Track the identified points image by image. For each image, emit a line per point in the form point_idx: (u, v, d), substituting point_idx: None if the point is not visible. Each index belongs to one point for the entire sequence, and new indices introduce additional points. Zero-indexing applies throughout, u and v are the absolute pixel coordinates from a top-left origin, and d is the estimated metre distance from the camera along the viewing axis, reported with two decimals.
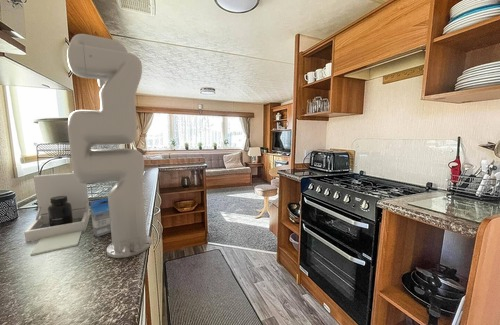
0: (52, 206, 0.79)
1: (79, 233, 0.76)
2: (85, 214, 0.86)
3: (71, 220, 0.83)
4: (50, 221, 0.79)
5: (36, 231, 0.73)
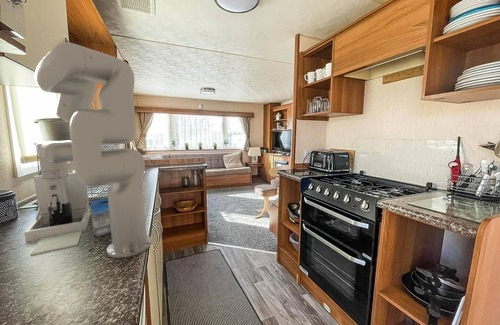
0: None
1: (79, 233, 0.76)
2: (85, 214, 0.86)
3: (71, 220, 0.83)
4: (50, 221, 0.79)
5: (36, 231, 0.73)
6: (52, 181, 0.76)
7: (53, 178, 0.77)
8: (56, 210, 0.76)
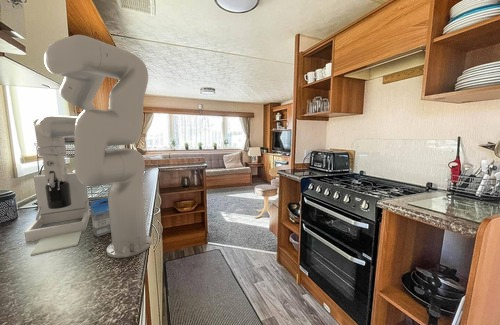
0: None
1: (79, 233, 0.76)
2: (85, 214, 0.86)
3: (69, 199, 0.82)
4: (48, 199, 0.78)
5: (36, 231, 0.73)
6: (49, 157, 0.75)
7: (50, 154, 0.76)
8: (54, 187, 0.75)
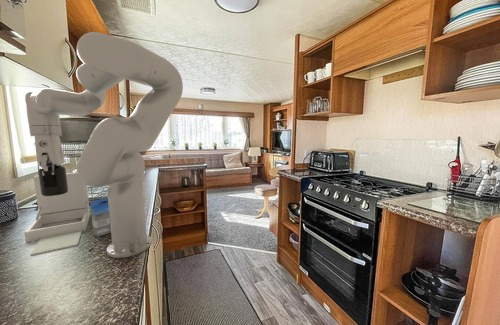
0: None
1: (79, 233, 0.76)
2: (85, 214, 0.86)
3: (66, 186, 0.73)
4: (41, 185, 0.69)
5: (36, 231, 0.73)
6: (42, 137, 0.66)
7: (43, 134, 0.66)
8: (47, 171, 0.66)
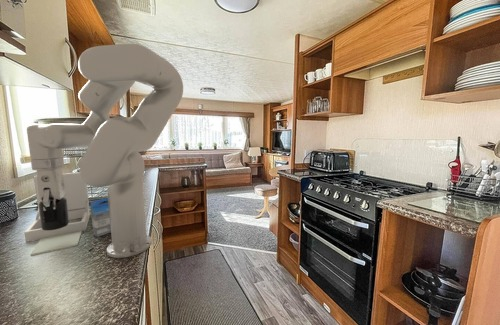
0: None
1: (79, 233, 0.76)
2: (85, 214, 0.86)
3: (66, 218, 0.71)
4: (41, 219, 0.67)
5: (36, 231, 0.73)
6: (44, 171, 0.64)
7: (45, 168, 0.64)
8: (49, 206, 0.64)
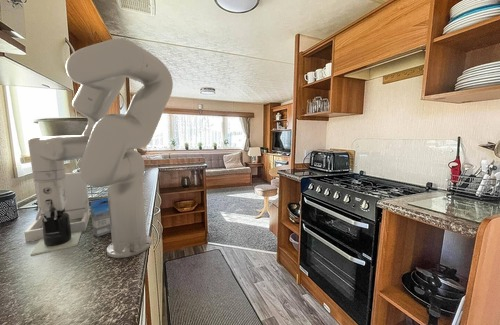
0: None
1: (79, 233, 0.76)
2: (85, 214, 0.86)
3: (69, 233, 0.71)
4: (44, 235, 0.67)
5: (36, 231, 0.73)
6: (46, 183, 0.64)
7: (47, 180, 0.65)
8: (49, 217, 0.63)
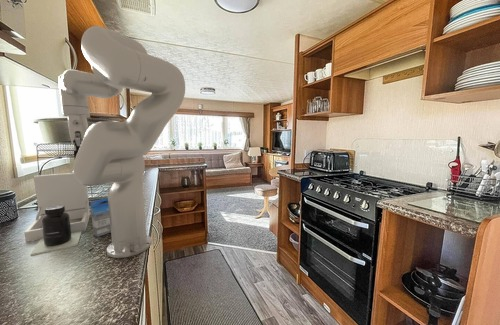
0: (47, 218, 0.67)
1: (79, 233, 0.76)
2: (85, 214, 0.86)
3: (69, 233, 0.71)
4: (44, 235, 0.67)
5: (36, 231, 0.73)
6: (75, 116, 0.71)
7: (76, 114, 0.72)
8: (79, 146, 0.70)
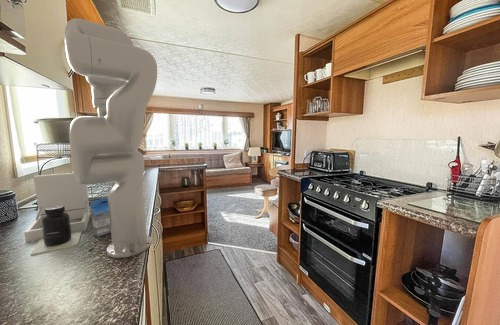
0: (47, 218, 0.67)
1: (79, 233, 0.76)
2: (85, 214, 0.86)
3: (69, 233, 0.71)
4: (44, 235, 0.67)
5: (36, 231, 0.73)
6: (104, 108, 0.81)
7: (104, 106, 0.82)
8: None
